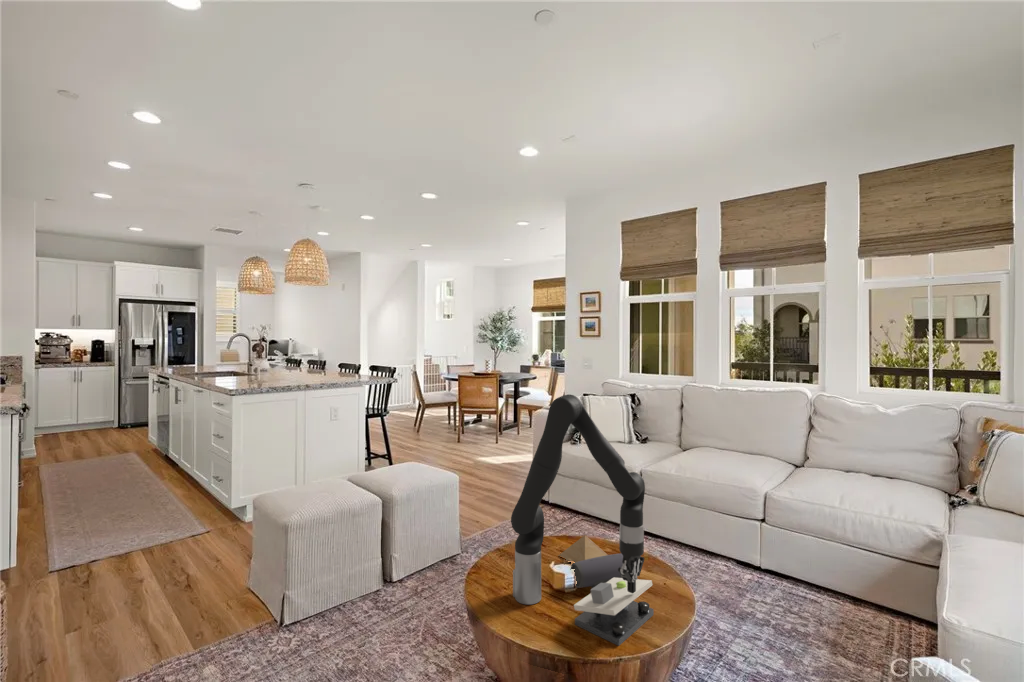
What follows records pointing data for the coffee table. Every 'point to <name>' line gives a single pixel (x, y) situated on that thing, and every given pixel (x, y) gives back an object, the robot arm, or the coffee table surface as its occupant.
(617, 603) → the plate
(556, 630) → the coffee table surface
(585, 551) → the model pyramid
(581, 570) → the bluetooth speaker
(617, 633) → the tribrach base
